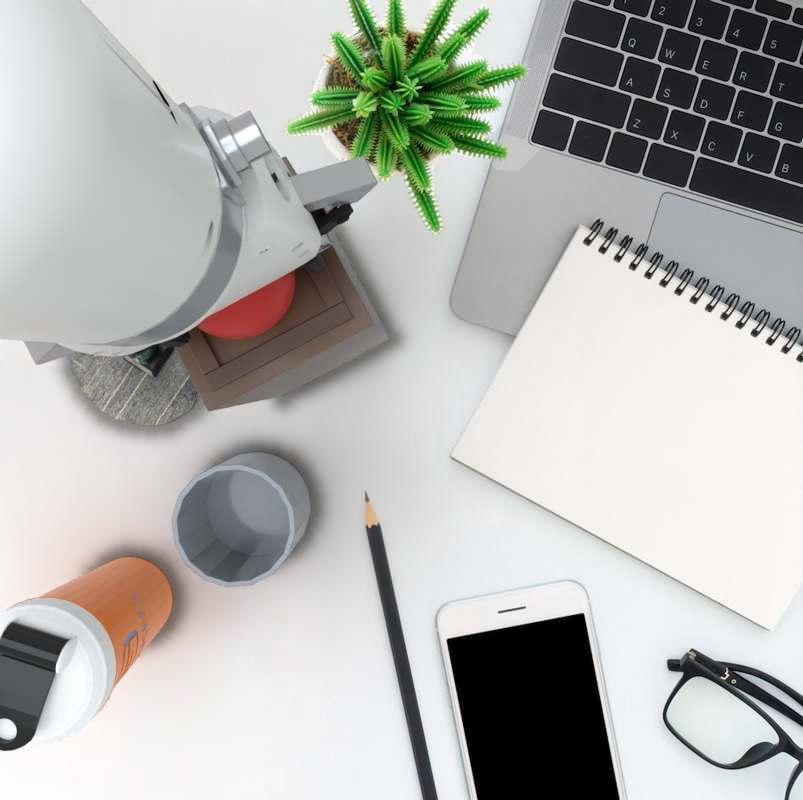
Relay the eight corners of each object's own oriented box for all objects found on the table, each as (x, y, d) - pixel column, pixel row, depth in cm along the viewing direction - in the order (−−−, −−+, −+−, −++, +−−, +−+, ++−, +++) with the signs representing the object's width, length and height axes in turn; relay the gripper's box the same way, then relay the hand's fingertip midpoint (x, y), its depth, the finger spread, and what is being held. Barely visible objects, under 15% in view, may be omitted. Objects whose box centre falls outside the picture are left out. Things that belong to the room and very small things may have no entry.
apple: (170, 260, 44) (125, 241, 38) (270, 207, 44) (243, 178, 37) (223, 361, 45) (188, 360, 38) (323, 308, 44) (305, 297, 38)
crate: (224, 287, 68) (116, 243, 44) (332, 230, 68) (284, 153, 44) (281, 396, 69) (205, 412, 44) (389, 339, 68) (373, 323, 44)
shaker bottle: (70, 642, 70) (-69, 752, 50) (85, 537, 69) (-49, 605, 49) (176, 659, 70) (79, 776, 50) (191, 554, 69) (100, 629, 49)
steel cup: (185, 482, 69) (150, 499, 60) (279, 433, 69) (258, 443, 60) (235, 576, 69) (208, 607, 60) (329, 528, 69) (316, 552, 60)
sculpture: (221, 280, 69) (204, 342, 63) (229, 365, 75) (215, 428, 69) (72, 273, 68) (42, 335, 62) (93, 359, 74) (68, 422, 69)
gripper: (310, -37, 24) (356, 133, 42) (-204, 244, 25) (55, 295, 43) (430, 193, 25) (425, 266, 42) (-83, 466, 25) (124, 425, 43)
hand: (238, 280), depth 42 cm, fingers open, 7 cm apart
